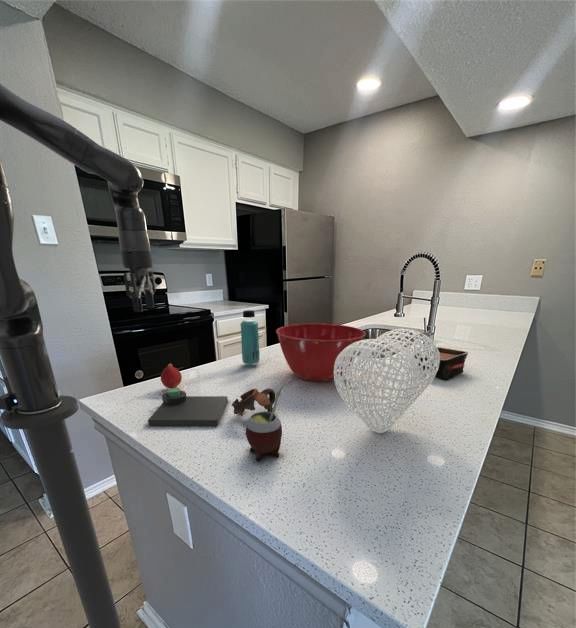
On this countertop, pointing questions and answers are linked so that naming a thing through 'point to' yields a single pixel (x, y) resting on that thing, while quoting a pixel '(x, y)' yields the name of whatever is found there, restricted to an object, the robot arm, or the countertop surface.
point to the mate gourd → (265, 431)
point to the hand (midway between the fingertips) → (144, 309)
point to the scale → (189, 410)
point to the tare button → (173, 392)
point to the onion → (171, 377)
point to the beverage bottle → (249, 339)
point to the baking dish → (448, 363)
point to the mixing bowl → (316, 348)
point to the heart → (414, 387)
